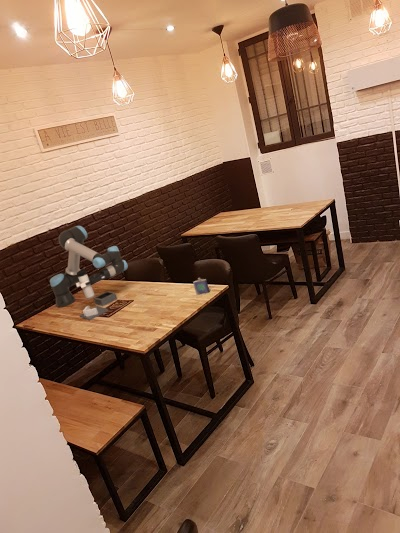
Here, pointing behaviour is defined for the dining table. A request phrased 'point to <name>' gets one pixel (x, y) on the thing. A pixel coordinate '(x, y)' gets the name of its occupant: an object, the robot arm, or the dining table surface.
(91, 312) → the V-cradle
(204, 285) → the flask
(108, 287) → the dining table surface
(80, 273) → the travel mug
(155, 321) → the dining table surface
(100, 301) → the sleeve
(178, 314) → the dining table surface
